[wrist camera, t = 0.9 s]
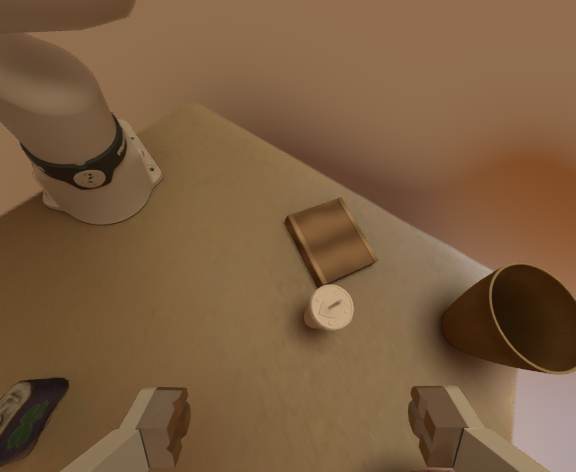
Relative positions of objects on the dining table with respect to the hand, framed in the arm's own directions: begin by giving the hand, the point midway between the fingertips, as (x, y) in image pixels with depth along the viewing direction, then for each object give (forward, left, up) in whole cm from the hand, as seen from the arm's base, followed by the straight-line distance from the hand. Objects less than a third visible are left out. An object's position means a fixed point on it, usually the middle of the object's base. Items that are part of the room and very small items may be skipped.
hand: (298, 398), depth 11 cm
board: (-14, +23, -38) cm, 47 cm away
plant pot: (+10, +38, -38) cm, 55 cm away
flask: (-7, -25, -38) cm, 46 cm away
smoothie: (-3, +14, -38) cm, 41 cm away
